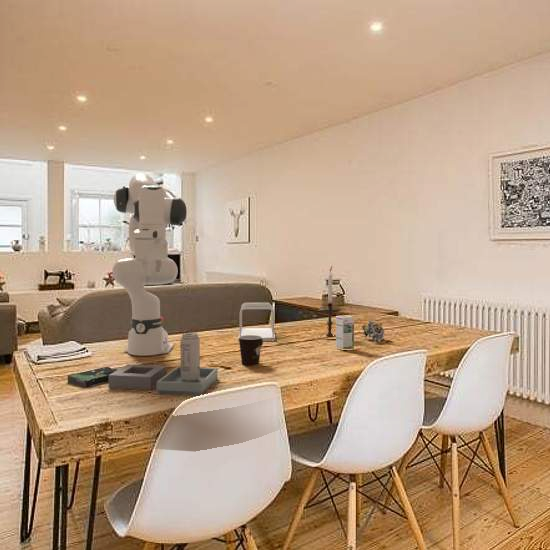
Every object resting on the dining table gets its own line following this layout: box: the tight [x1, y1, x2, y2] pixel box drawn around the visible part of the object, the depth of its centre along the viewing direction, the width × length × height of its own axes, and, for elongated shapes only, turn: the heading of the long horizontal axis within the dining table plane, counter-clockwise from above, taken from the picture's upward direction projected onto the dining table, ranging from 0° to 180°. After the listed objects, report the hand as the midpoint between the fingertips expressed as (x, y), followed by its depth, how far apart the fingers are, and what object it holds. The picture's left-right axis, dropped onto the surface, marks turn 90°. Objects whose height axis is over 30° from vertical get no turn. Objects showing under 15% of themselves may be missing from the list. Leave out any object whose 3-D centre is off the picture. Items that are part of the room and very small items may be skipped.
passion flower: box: [361, 319, 386, 343], centre depth 225 cm, size 11×11×12 cm
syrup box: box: [335, 314, 355, 349], centre depth 206 cm, size 6×6×14 cm
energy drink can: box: [179, 332, 201, 383], centre depth 154 cm, size 6×6×15 cm
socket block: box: [108, 363, 168, 390], centre depth 155 cm, size 14×14×4 cm
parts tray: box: [155, 366, 219, 396], centre depth 152 cm, size 18×14×4 cm
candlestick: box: [318, 265, 342, 338], centre depth 230 cm, size 11×11×35 cm
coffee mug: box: [238, 335, 264, 367], centre depth 181 cm, size 12×9×10 cm
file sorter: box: [237, 302, 276, 342], centre depth 235 cm, size 25×17×16 cm
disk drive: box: [67, 366, 119, 388], centre depth 158 cm, size 10×3×15 cm
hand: (152, 273), depth 165 cm, fingers open, 8 cm apart
